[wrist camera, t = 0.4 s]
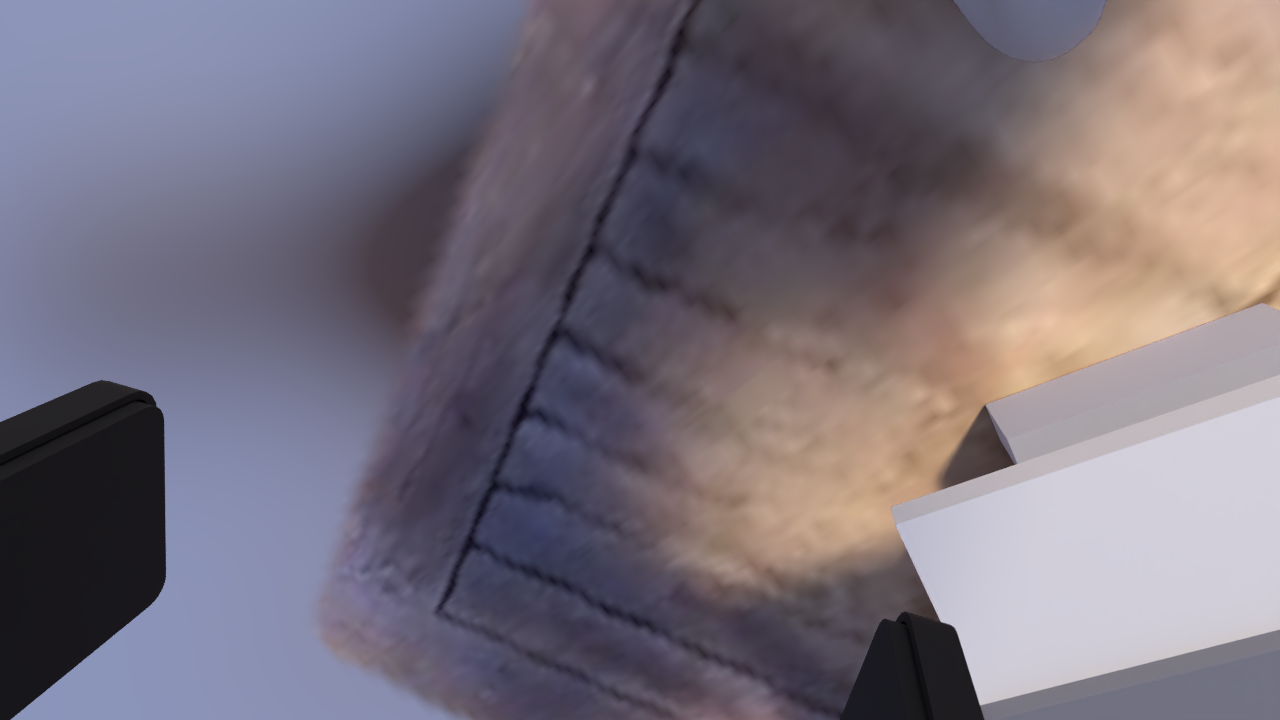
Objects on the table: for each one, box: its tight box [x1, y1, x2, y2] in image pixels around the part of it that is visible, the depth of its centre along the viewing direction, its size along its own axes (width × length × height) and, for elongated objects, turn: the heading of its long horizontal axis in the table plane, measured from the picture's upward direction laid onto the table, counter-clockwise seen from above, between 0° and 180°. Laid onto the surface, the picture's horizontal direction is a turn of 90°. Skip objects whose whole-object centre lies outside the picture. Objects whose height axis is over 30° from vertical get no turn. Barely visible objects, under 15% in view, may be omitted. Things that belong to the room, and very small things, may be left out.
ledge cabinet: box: [891, 303, 1280, 720], centre depth 30 cm, size 22×15×14 cm
